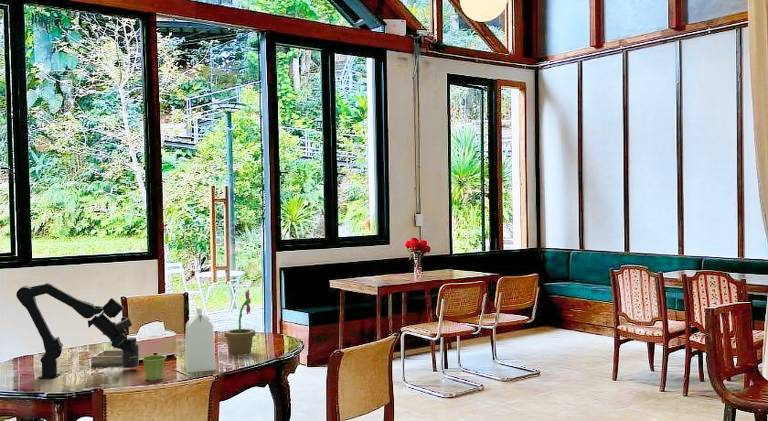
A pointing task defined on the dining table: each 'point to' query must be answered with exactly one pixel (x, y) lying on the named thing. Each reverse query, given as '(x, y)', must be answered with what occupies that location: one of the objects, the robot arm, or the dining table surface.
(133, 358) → the supplement bottle
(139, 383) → the dining table surface
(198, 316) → the milk
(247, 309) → the flowerpot
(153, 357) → the plant pot
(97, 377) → the dining table surface
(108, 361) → the box
